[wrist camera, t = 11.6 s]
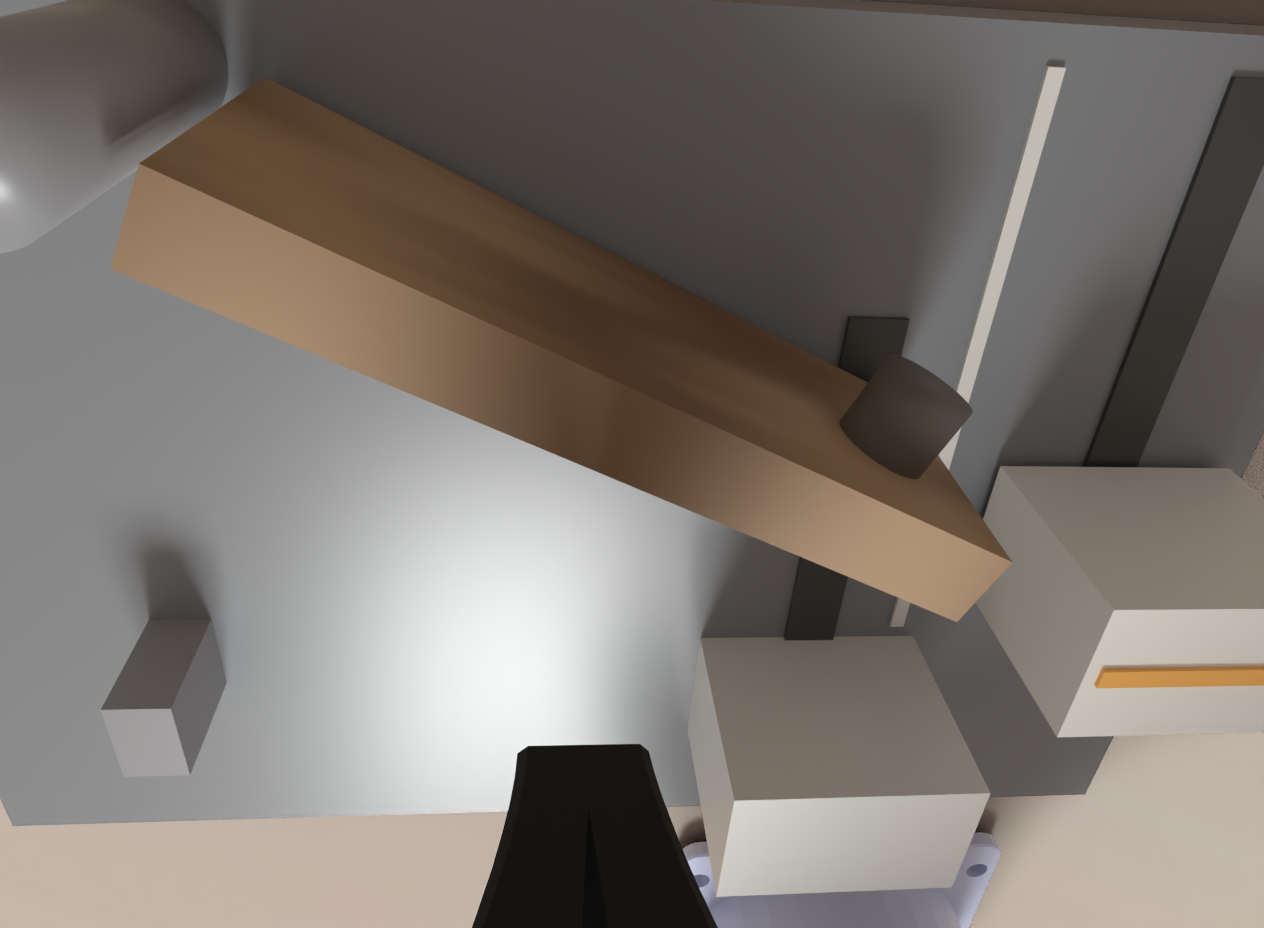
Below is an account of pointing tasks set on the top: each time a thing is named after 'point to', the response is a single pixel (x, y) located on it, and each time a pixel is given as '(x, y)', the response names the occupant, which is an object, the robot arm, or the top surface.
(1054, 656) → the fader
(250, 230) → the brown wooden bar
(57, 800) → the grey piece
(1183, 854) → the top surface
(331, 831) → the top surface
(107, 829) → the top surface
